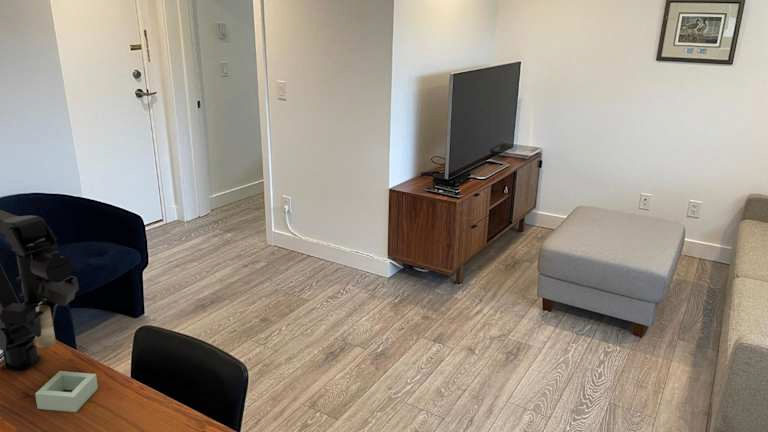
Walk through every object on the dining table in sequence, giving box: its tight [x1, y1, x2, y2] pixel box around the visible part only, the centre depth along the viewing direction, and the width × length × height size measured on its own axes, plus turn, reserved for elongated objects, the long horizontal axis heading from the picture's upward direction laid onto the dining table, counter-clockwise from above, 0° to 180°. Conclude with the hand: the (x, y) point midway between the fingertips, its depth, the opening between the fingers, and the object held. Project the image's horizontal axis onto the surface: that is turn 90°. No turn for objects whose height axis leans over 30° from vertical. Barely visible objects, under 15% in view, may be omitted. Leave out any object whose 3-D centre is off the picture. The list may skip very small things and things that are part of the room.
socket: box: [34, 370, 99, 413], centre depth 134 cm, size 9×9×4 cm
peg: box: [34, 305, 57, 348], centre depth 137 cm, size 4×4×9 cm
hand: (44, 331), depth 137 cm, fingers closed on peg, 4 cm apart
